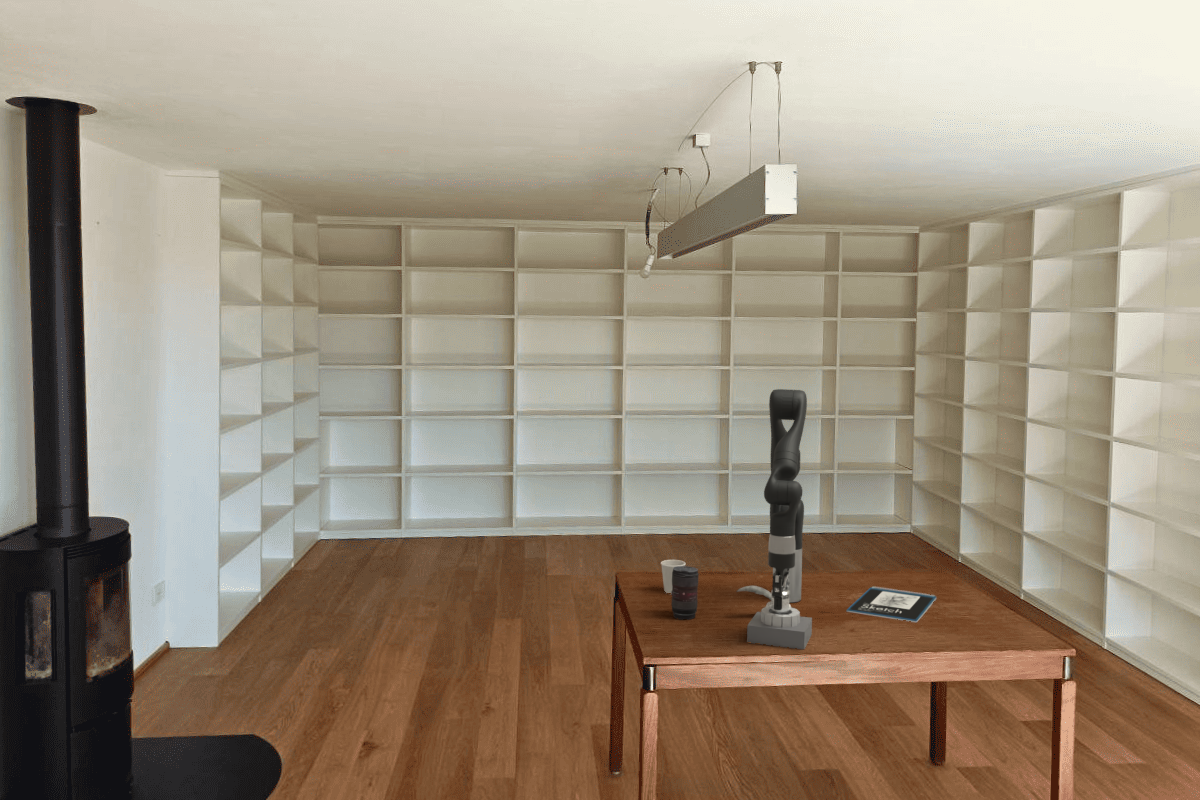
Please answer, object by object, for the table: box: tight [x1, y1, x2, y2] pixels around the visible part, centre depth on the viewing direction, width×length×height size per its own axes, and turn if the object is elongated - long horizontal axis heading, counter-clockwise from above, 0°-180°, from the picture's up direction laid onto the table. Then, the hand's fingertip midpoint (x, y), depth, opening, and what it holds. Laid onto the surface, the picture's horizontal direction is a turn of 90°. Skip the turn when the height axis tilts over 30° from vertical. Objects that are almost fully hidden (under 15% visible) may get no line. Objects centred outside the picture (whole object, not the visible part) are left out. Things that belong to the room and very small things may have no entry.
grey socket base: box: [746, 606, 813, 650], centre depth 278 cm, size 14×16×8 cm
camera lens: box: [670, 565, 699, 620], centre depth 298 cm, size 8×8×15 cm
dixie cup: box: [660, 559, 687, 594], centre depth 326 cm, size 8×8×10 cm
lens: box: [770, 589, 790, 615], centre depth 278 cm, size 5×5×9 cm
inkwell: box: [735, 585, 792, 608], centre depth 298 cm, size 9×18×10 cm, turn 98°
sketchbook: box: [846, 585, 937, 623], centre depth 313 cm, size 22×30×2 cm
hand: (780, 605), depth 278 cm, fingers open, 8 cm apart
